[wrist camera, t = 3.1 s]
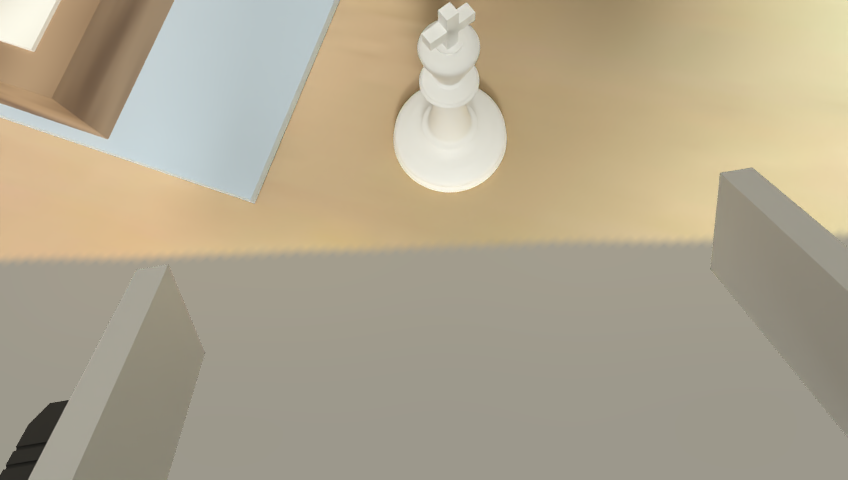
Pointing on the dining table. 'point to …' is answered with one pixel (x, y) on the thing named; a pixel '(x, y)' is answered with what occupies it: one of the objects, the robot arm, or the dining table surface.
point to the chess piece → (450, 111)
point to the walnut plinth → (75, 57)
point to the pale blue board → (213, 92)
